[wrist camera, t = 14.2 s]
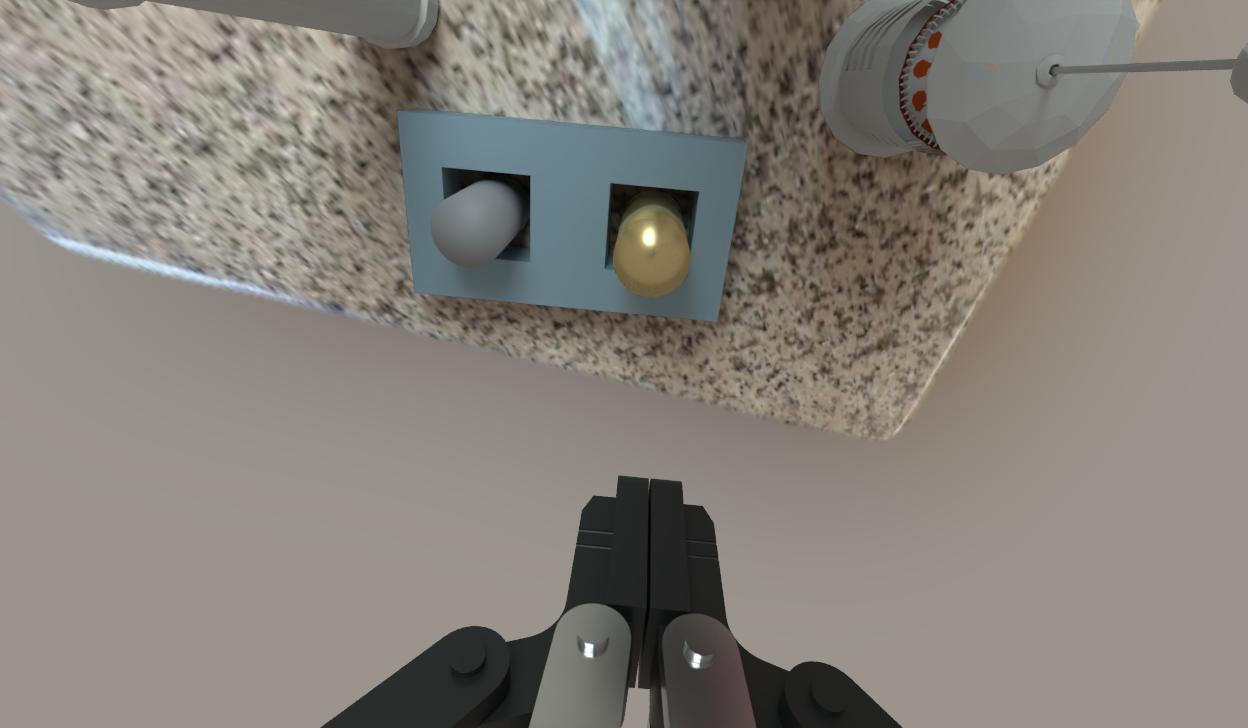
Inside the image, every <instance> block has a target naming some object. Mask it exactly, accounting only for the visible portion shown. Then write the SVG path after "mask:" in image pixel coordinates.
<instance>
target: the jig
mask: <svg viewBox="0 0 1248 728" xmlns="http://www.w3.org/2000/svg"><path fill="white" fill-rule="evenodd" d="M397 119H398V129H399V140H400V150H401V160H402V171H403V181H404V191H405V201H406V212H407V222H408V232H409V243H410V253H411V263H412V273H413V284H414V293H421V294H431V295H441V296H452V297H462V298H473V299H483V300H494V301H504V302H515V303H525V304H536V305H546V306H556V307H567V308H577V309H588V310H598V311H609V312H619V313H630V314H640V315H650V316H661V317H671V318H682V319H692V320H703V321H713V322H717V321H718V315H719V310H720V304H721V298H722V292H723V287H724V281H725V275H726V270H727V264H728V258H729V252H730V247H731V241H732V235H733V229H734V224H735V218H736V212H737V207H738V201H739V195H740V189H741V184H742V178H743V172H744V167H745V161H746V155H747V149H748V143H746V142H744V141H743V140H741V139H734V138H723V137H713V136H702V135H692V134H681V133H670V132H660V131H649V130H639V129H628V128H617V127H607V126H596V125H585V124H575V123H564V122H554V121H543V120H532V119H522V118H511V117H500V116H490V115H479V114H469V113H458V112H447V111H437V110H426V109H411V110H401V111H397ZM459 169H467V170H478V171H488V172H499V173H510V174H520V175H531V177H530V202H529V198H528V196H527V193H526V192H525V190H524V189H523V187H522V186H521V185H520V184H519V183H518V182H516V181H515V180H514V179H512V178H510V177H508V176H504V175H490V176H487V177H485V178H483V179H481V180H479V181H477V182H475V183H474V184H472V185H470V186H468V187H466V188H464V189H463V190H461V191H460V176H459ZM613 183H615V184H626V185H636V186H647V187H657V188H668V189H679V190H689V191H695V192H694V199H693V206H692V214H691V221H690V228H689V235H688V245H689V250H690V256H691V262H690V268H689V271H688V274H687V276H686V278H685V279H684V281H683V282H682V283H681V284H680V286H678V287H677V288H676V289H675V290H673V291H672V292H670V293H668V294H665V295H663V296H658V297H645V296H641V295H637V294H635V293H633V292H631V291H630V290H628V289H627V288H626V287H625V286H624V285H623V284H622V283H621V282H620V280H619V279H618V277H617V275H616V273H615V270H614V265H613V256H608V249H609V235H610V221H611V207H612V193H613ZM529 216H530V248H524V247H514V246H507V245H508V244H509V243H510V242H511V241H512V240H513V238H514V237H515V236H516V235H517V234H518V233H519V232H520V231H521V230H522V229H523V227H524V226H525V225H526V223H527V221H528V219H529Z"/></svg>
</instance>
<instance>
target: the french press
mask: <svg viewBox="0 0 1248 728" xmlns="http://www.w3.org/2000/svg"><path fill="white" fill-rule="evenodd" d="M1139 27H1140V24H1139V23H1138V22H1137V20H1136V16H1135V13H1134V10H1133V7H1132V3H1131V0H869V1H867V2H866V3H865V4H864V5H862V6H861V7H860V8H858V9H857V10H856V11H855V12H853V13H852V14H851V15H849V16H848V17H847V19H846V20H845V22H844V23H843V25H842V26H841V28H840V29H839V31H838V32H837V34H836V36H835V37H834V39H833V40H832V42H831V43H830V45H829V46H828V48H827V51H826V55H825V59H824V63H823V66H822V70H821V74H820V78H819V81H818V83H819V93H820V104H821V114H822V115H823V117H824V119H825V121H826V123H827V124H828V126H829V128H830V130H831V132H832V133H833V135H834V137H835V138H836V139H837V140H838V141H840V142H841V143H843V144H844V145H846V146H847V147H849V148H850V149H851V150H853V151H854V152H856V153H857V154H863V155H870V156H876V157H883V158H886V157H890V156H894V155H898V154H902V153H906V152H910V151H917V152H924V153H930V154H937V155H949V156H950V157H951V158H953V159H954V160H955V161H957V162H958V163H959V164H961V165H962V166H963V167H965V168H966V169H970V170H976V171H982V172H988V173H994V174H1000V175H1002V174H1006V173H1010V172H1015V171H1019V170H1023V169H1028V168H1032V167H1037V166H1040V165H1041V164H1043V163H1045V162H1046V161H1048V160H1050V159H1051V158H1053V157H1055V156H1056V155H1058V154H1060V153H1061V152H1063V151H1065V150H1066V149H1068V148H1070V147H1071V146H1073V145H1075V144H1076V143H1077V142H1078V141H1079V140H1080V139H1081V138H1082V137H1083V136H1084V135H1085V134H1086V133H1087V132H1088V131H1089V130H1090V129H1091V127H1092V126H1093V125H1094V124H1095V123H1096V122H1097V121H1098V120H1099V119H1100V118H1101V117H1102V116H1103V115H1104V113H1105V112H1106V111H1107V110H1108V109H1109V107H1110V105H1111V103H1112V102H1113V99H1114V97H1115V96H1116V94H1117V92H1118V90H1119V88H1120V86H1121V84H1122V82H1123V80H1124V78H1125V76H1126V74H1127V72H1150V71H1185V70H1186V71H1188V70H1224V69H1233V70H1232V75H1231V80H1230V82H1231V85H1232V88H1233V92H1234V94H1235V95H1236V96H1238V97H1239V98H1240V99H1242V100H1243V101H1245V102H1246V103H1248V44H1247V45H1246V46H1245V47H1244V48H1243V49H1242V51H1241V52H1240V54H1239V56H1238V57H1237V59H1226V60H1204V61H1203V60H1202V61H1180V62H1157V63H1135V64H1131V63H1132V55H1133V48H1134V40H1135V33H1136V31H1137V30H1138V28H1139ZM923 144H927V145H924V146H922V145H923ZM929 146H930V147H931V148H921V147H929ZM917 148H919V149H917ZM933 149H937V150H935V151H925V150H933Z"/></svg>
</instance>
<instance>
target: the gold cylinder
mask: <svg viewBox="0 0 1248 728" xmlns="http://www.w3.org/2000/svg"><path fill="white" fill-rule="evenodd" d="M690 262H691V256H690V250H689V245H688V240H687V236H686V231H685V227H684V222H683V218H682V213H681V210H680V208H679V206H678V204H677V202H676V201H675V200H674V199H673V198H672V197H671V196H669V195H668V194H666V193H664V192H661V191H657V190H648V191H644V192H641V193H639V194H637V195H635V196H634V197H633V198H632V199H631V200H630V201H629V202H628V203H627V205H626V207H625V209H624V211H623V215H622V219H621V223H620V228H619V232H618V236H617V240H616V245H615V249H614V254H613V265H614V270H615V273H616V275H617V277H618V279H619V280H620V282H621V283H622V284H623V285H624V286H625V287H626V288H627V289H628V290H630V291H631V292H633V293H635V294H637V295H641V296H645V297H658V296H663V295H665V294H668V293H670V292H672V291H673V290H675V289H676V288H677V287H678V286H680V284H681V283H682V282H683V281H684V279H685V278H686V276H687V274H688V271H689V268H690Z"/></svg>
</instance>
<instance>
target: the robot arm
mask: <svg viewBox="0 0 1248 728" xmlns="http://www.w3.org/2000/svg"><path fill="white" fill-rule="evenodd" d="M648 488H649V489H648ZM648 491H649V493H648ZM638 662H639V674H638V688H643V689H650V713H649V719H648V724H647V728H902V727H901V726H900V725H899V724H898V723H897V722H896V721H895V720H894V719H893V718H892V717H891V716H890V715H888V714H887V712H885V711H884V710H883V709H882V708H881V707H880V706H879V705H878V704H877V703H876V702H875V701H874V700H873V699H872V698H871V697H870V696H869V695H868V694H866V692H864V691H863V690H862V689H861V688H860V687H859V686H858V685H857V684H856V683H855V682H854V681H853V680H852V679H851V678H849V677H848V676H847V675H846V674H845V673H843V672H842V671H840V670H839V669H837V668H835V667H833V666H831V665H828V664H825V663H821V662H813V661H811V662H804V663H801V664H798V665H797V666H795V667H794V668H793V669H792V670H791V671H790V672H789V671H787V670H785V669H782V668H780V667H777V666H775V665H772V664H770V663H768V662H765V661H763V660H761V659H759V658H757V657H755V656H754V655H752V654H751V653H749V652H748V651H747V650H745V649H744V648H743V647H742V646H741V645H740V644H739V643H738V641H737V640H736V639H735V637H734V636H733V634H732V633H731V631H730V629H729V626H728V623H727V619H726V612H725V605H724V597H723V589H722V582H721V574H720V567H719V561H718V551H717V545H716V536H715V529H714V523H713V521H712V520H711V518H710V517H709V515H708V514H707V512H706V510H705V509H704V507H703V506H697V505H687V504H683V490H682V482H680V481H671V480H660V479H651V480H650V486H649V479H648V478H639V477H638V478H637V477H628V476H618V484H617V494H616V498H614V497H603V496H593V497H592V499H591V500H590V501H589V502H588V503H587V505H586V506H585V507H584V509H583V510H582V514H581V520H580V526H579V532H578V537H577V543H576V549H575V555H574V561H573V567H572V573H571V578H570V584H569V590H568V596H567V601H566V605H565V609H564V611H563V613H562V615H561V616H560V618H559V619H558V620H557V621H556V622H555V623H554V624H553V625H552V626H551V627H550V628H548V629H547V630H545V631H544V632H542V633H540V634H537V635H535V636H531V637H527V638H523V639H518V640H513V641H509V642H505V640H504V639H503V638H502V636H501V635H499V634H498V633H497V632H495V631H493V630H492V629H488V628H486V627H480V626H470V627H464V628H461V629H458V630H456V631H453V632H451V633H450V634H448V635H446V636H445V637H443V638H442V639H441V640H439V641H438V642H436V643H435V644H434V645H432V646H431V647H430V648H428V649H427V650H426V651H424V652H423V653H422V654H420V655H419V656H418V657H416V658H415V659H413V660H412V661H411V662H409V663H408V664H407V665H405V666H404V667H402V668H401V669H400V670H398V671H397V672H396V673H394V674H393V675H392V676H390V677H389V678H387V679H386V680H385V681H383V682H382V683H381V684H379V685H378V686H377V687H375V688H374V689H373V690H371V691H370V692H368V693H367V694H366V695H364V696H363V697H362V698H360V699H359V700H358V701H356V702H355V703H353V704H352V705H351V706H349V707H348V708H347V709H345V710H344V711H343V712H341V713H340V714H338V715H337V716H336V717H334V718H333V719H332V720H330V721H329V722H328V723H326V724H325V725H323V726H322V727H321V728H621V726H622V724H623V721H624V716H625V708H626V702H627V695H628V688H629V687H630V688H635V682H636V676H637V668H638Z"/></svg>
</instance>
